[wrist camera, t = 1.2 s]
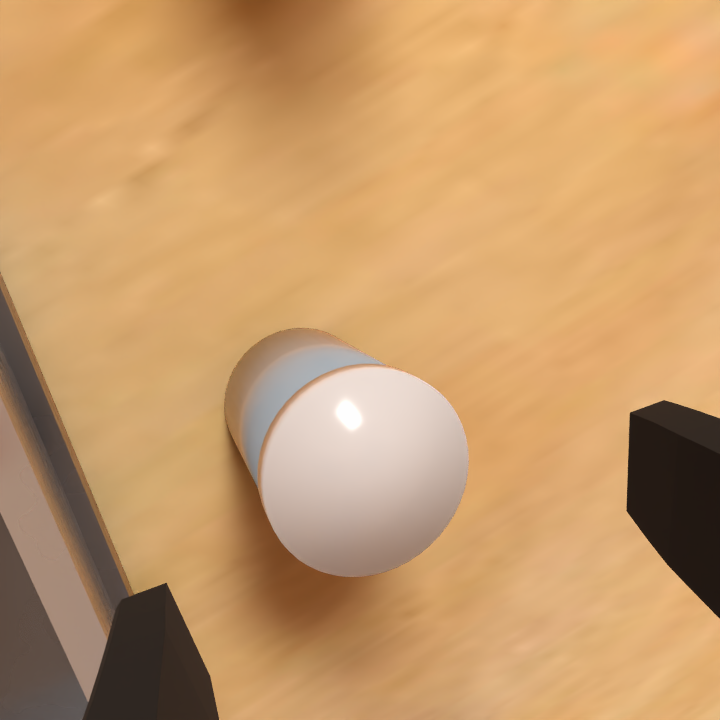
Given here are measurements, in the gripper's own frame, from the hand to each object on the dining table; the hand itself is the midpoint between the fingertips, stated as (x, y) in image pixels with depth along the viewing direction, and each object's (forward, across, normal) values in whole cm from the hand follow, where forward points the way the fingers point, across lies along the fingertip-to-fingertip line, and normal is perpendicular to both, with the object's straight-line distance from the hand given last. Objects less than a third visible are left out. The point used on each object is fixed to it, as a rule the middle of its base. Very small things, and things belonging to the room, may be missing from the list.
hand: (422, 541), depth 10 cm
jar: (+11, 0, +4) cm, 12 cm away
